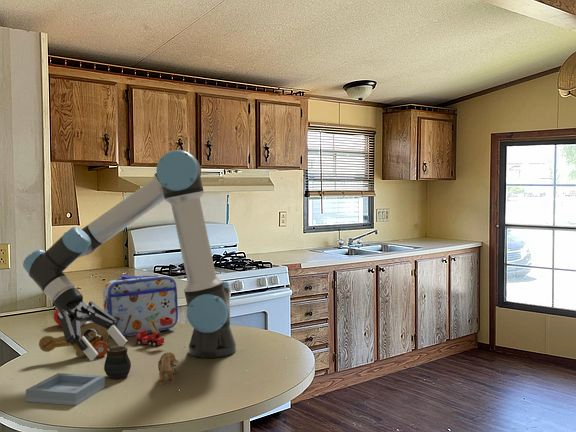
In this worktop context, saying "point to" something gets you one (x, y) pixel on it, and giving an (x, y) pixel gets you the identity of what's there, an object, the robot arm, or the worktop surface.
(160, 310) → the lunch box
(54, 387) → the tray
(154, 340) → the toy fire truck
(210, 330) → the robot arm
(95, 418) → the worktop surface
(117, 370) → the mate gourd
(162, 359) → the lion figurine
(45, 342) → the toy helicopter
